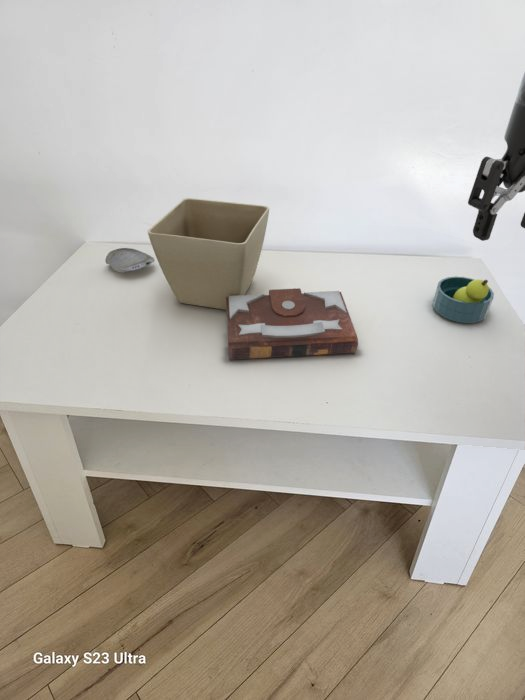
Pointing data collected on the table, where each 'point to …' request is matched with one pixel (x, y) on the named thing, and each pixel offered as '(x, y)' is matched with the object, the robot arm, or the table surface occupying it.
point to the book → (289, 324)
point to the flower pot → (209, 249)
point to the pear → (472, 292)
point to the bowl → (456, 308)
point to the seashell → (128, 259)
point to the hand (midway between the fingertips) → (504, 233)
